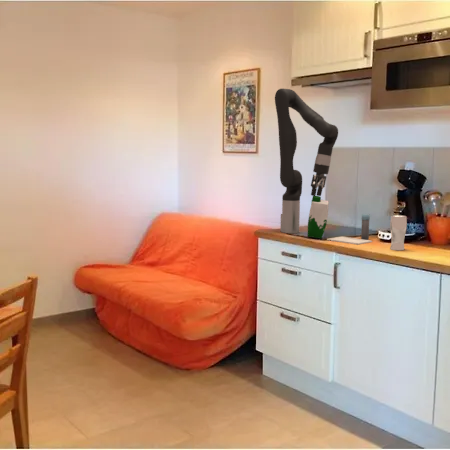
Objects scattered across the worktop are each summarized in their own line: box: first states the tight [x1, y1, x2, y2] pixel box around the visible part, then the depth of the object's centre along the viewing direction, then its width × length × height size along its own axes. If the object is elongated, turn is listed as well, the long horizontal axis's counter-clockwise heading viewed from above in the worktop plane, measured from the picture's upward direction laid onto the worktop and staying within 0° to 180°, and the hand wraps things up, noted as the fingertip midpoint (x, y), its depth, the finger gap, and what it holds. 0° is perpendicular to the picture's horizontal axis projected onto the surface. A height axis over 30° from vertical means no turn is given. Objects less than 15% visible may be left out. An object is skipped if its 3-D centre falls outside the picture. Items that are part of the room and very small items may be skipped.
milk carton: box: [307, 195, 329, 239], centre depth 288 cm, size 9×9×20 cm
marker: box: [360, 213, 371, 240], centre depth 285 cm, size 4×4×12 cm
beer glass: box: [389, 214, 408, 251], centre depth 257 cm, size 7×7×15 cm
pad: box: [326, 236, 373, 245], centre depth 280 cm, size 18×12×1 cm, turn 42°
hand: (315, 195), depth 291 cm, fingers open, 8 cm apart
